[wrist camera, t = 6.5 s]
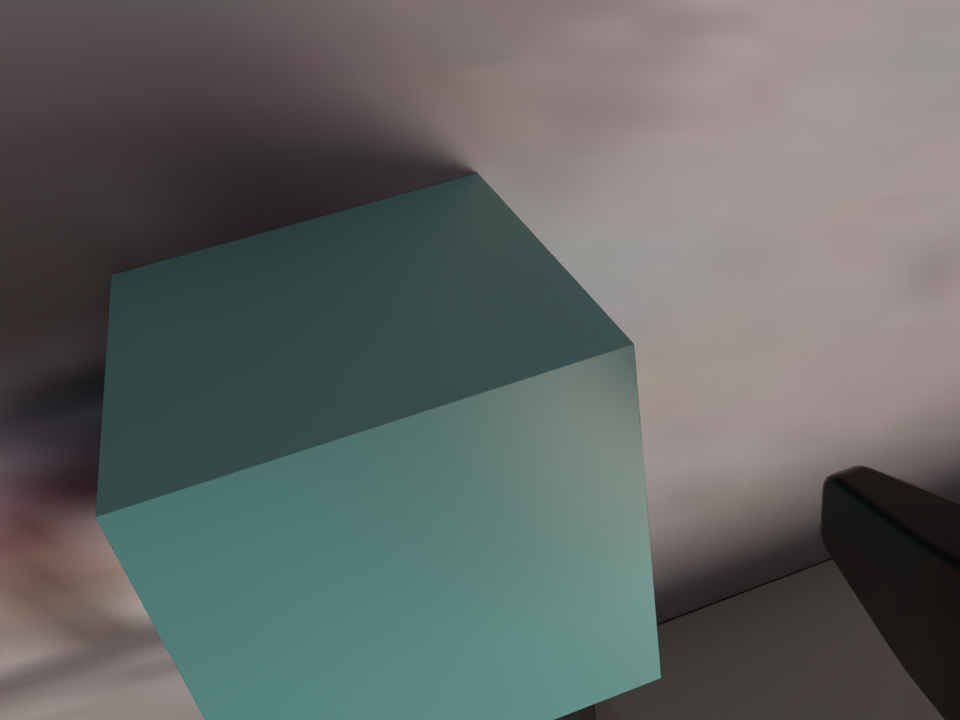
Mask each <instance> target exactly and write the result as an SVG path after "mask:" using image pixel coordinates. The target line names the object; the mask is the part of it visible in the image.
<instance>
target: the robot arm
mask: <svg viewBox="0 0 960 720" xmlns="http://www.w3.org/2000/svg"><path fill="white" fill-rule="evenodd" d="M820 531H821V537H822V540H823V543H824V545H825V548H826V550H827V551H828V553H829V555H830V556H831V558H832V559H833V561H834V562H835V564H836V565H837V567H838V569H839V570H840V572H841V573H842V575H843V576H844V578H845V579H846V581H847V582H848V584H849V586H850V587H851V589H852V590H853V592H854V593H855V595H856V596H857V598H858V600H859V601H860V603H861V604H862V606H863V607H864V609H865V610H866V612H867V613H868V615H869V617H870V618H871V620H872V621H873V623H874V624H875V626H876V627H877V629H878V631H879V632H880V634H881V635H882V637H883V638H884V640H885V641H886V643H887V644H888V646H889V648H890V649H891V651H892V652H893V653H894V655H895V656H896V658H897V659H898V661H899V662H900V664H901V665H902V667H903V668H904V669H905V671H906V672H907V673H908V674H909V676H910V677H911V678H912V680H913V681H914V682H915V684H916V685H917V686H918V687H919V689H920V690H921V691H922V692H923V694H924V695H925V696H926V697H927V699H928V700H929V701H930V702H931V704H932V705H933V706H934V707H935V709H936V710H937V711H938V712H939V714H940V715H941V716H942V717H943V719H944V720H960V502H957V501H954V500H952V499H949V498H947V497H944V496H942V495H939V494H936V493H934V492H931V491H929V490H926V489H923V488H921V487H918V486H916V485H913V484H910V483H908V482H905V481H903V480H900V479H897V478H895V477H892V476H890V475H887V474H884V473H882V472H879V471H877V470H874V469H872V468H869V467H865V466H854V467H851V468H848V469H845V470H842V471H840V472H837V473H834V474H831V475H829V476H828V477H827V478H826V480H825V481H824V483H823V492H822V508H821V524H820Z"/></svg>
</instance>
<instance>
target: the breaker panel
mask: <svg viewBox="0 0 960 720" xmlns="http://www.w3.org/2000/svg"><path fill="white" fill-rule="evenodd" d="M657 635H658V648H659V660H660V672H661V678H660V679H657V680H655V681H652V682H649V683H647V684H644V685H642V686H639V687H637V688H634V689H631V690H629V691H626V692H624V693H621V694H619V695H616V696H614V697H611V698H608V699H606V700H603V701H601V702H598V703H596V704H594V710H595V717H596V720H944V719H943V717H942V716H941V715H940V714H939V712H938V711H937V710H936V709H935V707H934V706H933V705H932V704H931V702H930V701H929V700H928V699H927V697H926V696H925V695H924V694H923V692H922V691H921V690H920V689H919V687H918V686H917V685H916V684H915V682H914V681H913V680H912V678H911V677H910V676H909V674H908V673H907V672H906V671H905V669H904V668H903V667H902V665H901V664H900V662H899V661H898V659H897V658H896V656H895V655H894V653H893V652H892V651H891V649H890V648H889V646H888V644H887V643H886V641H885V640H884V638H883V637H882V635H881V634H880V632H879V631H878V629H877V627H876V626H875V624H874V623H873V621H872V620H871V618H870V617H869V615H868V613H867V612H866V610H865V609H864V607H863V606H862V604H861V603H860V601H859V600H858V598H857V596H856V595H855V593H854V592H853V590H852V589H851V587H850V586H849V584H848V582H847V581H846V579H845V578H844V576H843V575H842V573H841V572H840V570H839V569H838V567H837V565H836V564H835V562H834V561H833V559H832V560H829V561H827V562H824V563H821V564H819V565H816V566H813V567H811V568H808V569H805V570H803V571H800V572H798V573H795V574H792V575H790V576H787V577H784V578H782V579H779V580H776V581H774V582H771V583H769V584H766V585H763V586H761V587H758V588H755V589H753V590H750V591H747V592H745V593H742V594H740V595H737V596H734V597H732V598H729V599H726V600H724V601H721V602H718V603H716V604H713V605H711V606H708V607H705V608H703V609H700V610H697V611H695V612H692V613H689V614H687V615H684V616H682V617H679V618H676V619H674V620H671V621H668V622H666V623H663V624H660V625H658V626H657Z"/></svg>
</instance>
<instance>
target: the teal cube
mask: <svg viewBox="0 0 960 720" xmlns="http://www.w3.org/2000/svg"><path fill="white" fill-rule="evenodd" d="M96 519H97V521H98V523H99V524H100V526H101V528H102V530H103V532H104V534H105V536H106V537H107V539H108V541H109V543H110V545H111V547H112V548H113V550H114V552H115V554H116V556H117V558H118V560H119V561H120V563H121V565H122V567H123V569H124V571H125V573H126V574H127V576H128V578H129V580H130V582H131V584H132V585H133V587H134V589H135V591H136V593H137V595H138V597H139V598H140V600H141V602H142V604H143V606H144V608H145V610H146V611H147V613H148V615H149V617H150V619H151V621H152V622H153V624H154V626H155V628H156V630H157V632H158V634H159V635H160V637H161V639H162V641H163V643H164V645H165V647H166V648H167V650H168V652H169V654H170V656H171V658H172V659H173V661H174V663H175V665H176V667H177V669H178V671H179V672H180V674H181V676H182V678H183V680H184V682H185V684H186V685H187V687H188V689H189V691H190V693H191V695H192V696H193V698H194V700H195V702H196V704H197V706H198V708H199V709H200V711H201V713H202V715H203V717H204V719H205V720H555V719H557V718H560V717H562V716H565V715H567V714H570V713H573V712H575V711H578V710H580V709H583V708H585V707H588V706H591V705H593V704H596V703H598V702H601V701H603V700H606V699H608V698H611V697H614V696H616V695H619V694H621V693H624V692H626V691H629V690H631V689H634V688H637V687H639V686H642V685H644V684H647V683H649V682H652V681H655V680H657V679H660V678H661V672H660V660H659V648H658V635H657V623H656V610H655V598H654V586H653V573H652V561H651V549H650V536H649V524H648V511H647V499H646V487H645V474H644V462H643V450H642V437H641V425H640V412H639V400H638V388H637V375H636V363H635V351H634V344H633V343H632V341H631V340H630V339H629V338H628V337H627V336H626V335H625V334H624V333H623V332H622V330H621V329H620V328H619V327H618V326H617V325H616V324H615V323H614V322H613V321H612V320H611V318H610V317H609V316H608V315H607V314H606V313H605V312H604V311H603V310H602V309H601V307H600V306H599V305H598V304H597V303H596V302H595V301H594V300H593V299H592V298H591V297H590V295H589V294H588V293H587V292H586V291H585V290H584V289H583V288H582V287H581V286H580V285H579V283H578V282H577V281H576V280H575V279H574V278H573V277H572V276H571V275H570V274H569V272H568V271H567V270H566V269H565V268H564V267H563V266H562V265H561V264H560V263H559V262H558V260H557V259H556V258H555V257H554V256H553V255H552V254H551V253H550V252H549V251H548V249H547V248H546V247H545V246H544V245H543V244H542V243H541V242H540V241H539V240H538V239H537V237H536V236H535V235H534V234H533V233H532V232H531V231H530V230H529V229H528V228H527V227H526V225H525V224H524V223H523V222H522V221H521V220H520V219H519V218H518V217H517V216H516V214H515V213H514V212H513V211H512V210H511V209H510V208H509V207H508V206H507V205H506V204H505V202H504V201H503V200H502V199H501V198H500V197H499V196H498V195H497V194H496V193H495V192H494V190H493V189H492V188H491V187H490V186H489V185H488V184H487V183H486V182H485V181H484V179H483V178H482V177H481V176H480V175H479V174H478V173H476V174H472V175H469V176H465V177H462V178H458V179H454V180H451V181H447V182H444V183H440V184H436V185H433V186H429V187H426V188H422V189H419V190H415V191H411V192H408V193H404V194H401V195H397V196H393V197H390V198H386V199H383V200H379V201H375V202H372V203H368V204H365V205H361V206H357V207H354V208H350V209H347V210H343V211H340V212H336V213H332V214H329V215H325V216H322V217H318V218H314V219H311V220H307V221H304V222H300V223H296V224H293V225H289V226H286V227H282V228H279V229H275V230H271V231H268V232H264V233H261V234H257V235H253V236H250V237H246V238H243V239H239V240H235V241H232V242H228V243H225V244H221V245H217V246H214V247H210V248H207V249H203V250H200V251H196V252H192V253H189V254H185V255H182V256H178V257H174V258H171V259H167V260H164V261H160V262H156V263H153V264H149V265H146V266H142V267H138V268H135V269H131V270H128V271H124V272H121V273H117V274H113V275H112V276H111V291H110V306H109V322H108V337H107V352H106V367H105V383H104V398H103V413H102V428H101V443H100V459H99V474H98V489H97V504H96Z"/></svg>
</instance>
